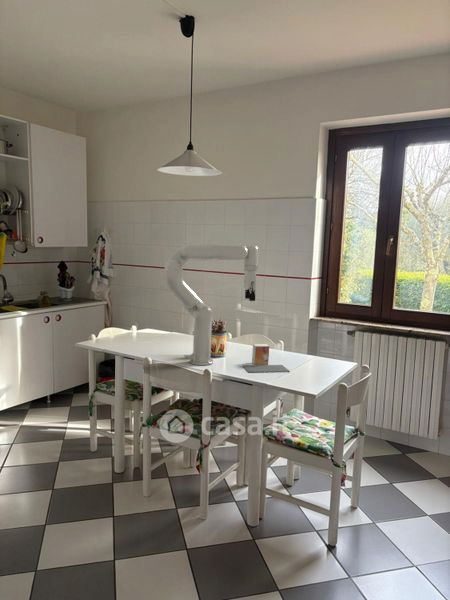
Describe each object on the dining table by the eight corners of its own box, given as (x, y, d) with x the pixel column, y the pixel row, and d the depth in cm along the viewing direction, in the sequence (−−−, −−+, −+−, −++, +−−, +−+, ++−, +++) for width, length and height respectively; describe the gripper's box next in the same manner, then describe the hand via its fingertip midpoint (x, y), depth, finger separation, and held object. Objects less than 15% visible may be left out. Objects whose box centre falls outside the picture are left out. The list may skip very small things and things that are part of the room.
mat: (248, 372, 227) (248, 371, 227) (242, 366, 239) (242, 365, 239) (289, 372, 232) (289, 371, 232) (282, 365, 243) (282, 364, 243)
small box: (254, 365, 242) (255, 346, 241) (251, 362, 248) (252, 343, 246) (268, 364, 244) (269, 346, 243) (265, 362, 249) (266, 343, 248)
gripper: (240, 267, 251) (239, 297, 253) (247, 269, 234) (247, 301, 237) (253, 267, 253) (252, 297, 255) (261, 269, 236) (260, 301, 238)
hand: (250, 299), depth 246 cm, fingers open, 9 cm apart
